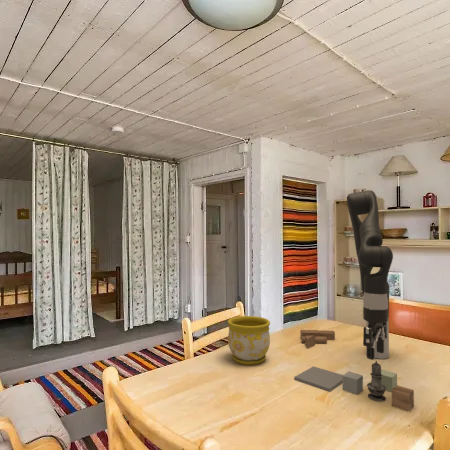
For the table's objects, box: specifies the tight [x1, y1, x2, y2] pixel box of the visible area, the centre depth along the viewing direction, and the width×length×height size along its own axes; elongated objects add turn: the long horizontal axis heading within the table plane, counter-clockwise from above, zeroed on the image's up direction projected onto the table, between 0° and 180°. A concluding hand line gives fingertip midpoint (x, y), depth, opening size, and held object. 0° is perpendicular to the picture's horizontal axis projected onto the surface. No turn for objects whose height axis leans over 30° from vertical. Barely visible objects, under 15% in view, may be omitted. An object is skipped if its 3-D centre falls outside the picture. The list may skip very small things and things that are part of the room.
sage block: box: [381, 368, 398, 393], centre depth 121 cm, size 5×5×5 cm
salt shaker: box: [366, 360, 387, 402], centre depth 114 cm, size 6×6×12 cm
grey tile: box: [293, 366, 344, 393], centre depth 127 cm, size 14×14×1 cm
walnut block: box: [391, 384, 415, 412], centre depth 108 cm, size 5×5×5 cm
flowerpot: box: [227, 315, 271, 366], centre depth 147 cm, size 18×18×16 cm
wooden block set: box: [299, 329, 336, 350], centre depth 169 cm, size 17×6×18 cm
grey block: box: [342, 371, 364, 395], centre depth 119 cm, size 5×5×5 cm
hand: (375, 355), depth 114 cm, fingers open, 8 cm apart
